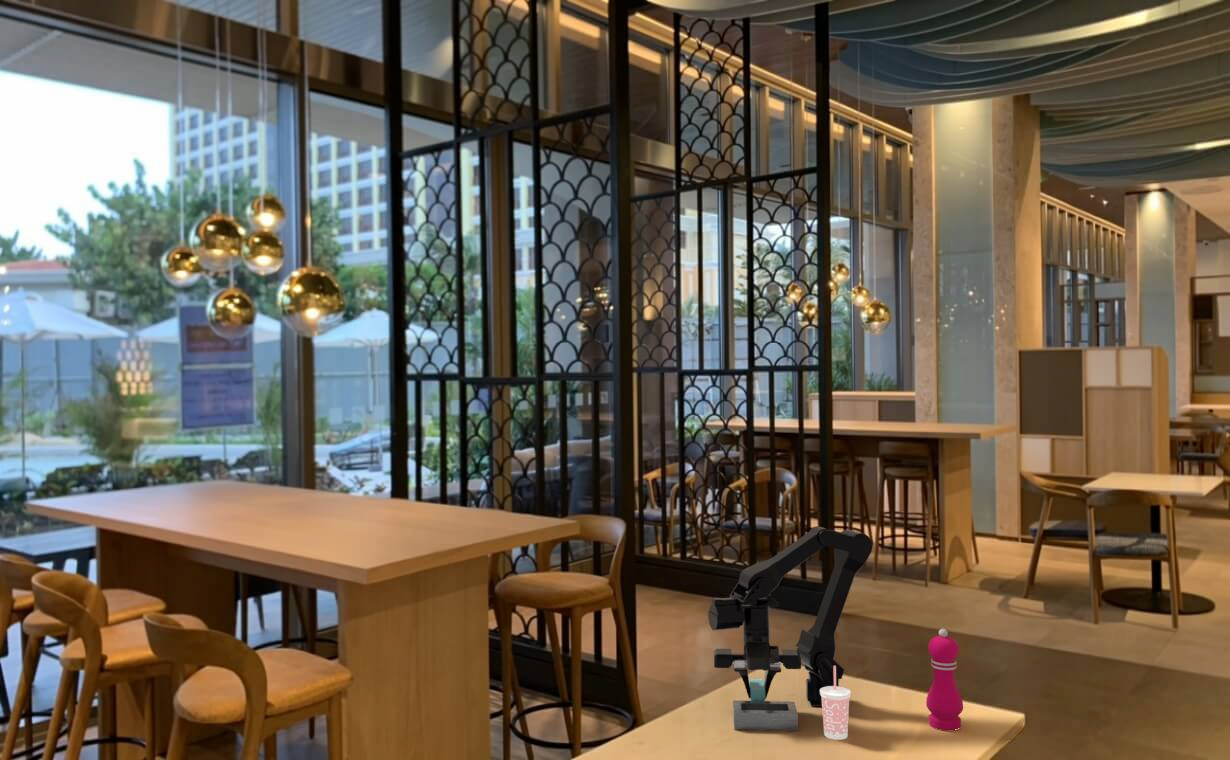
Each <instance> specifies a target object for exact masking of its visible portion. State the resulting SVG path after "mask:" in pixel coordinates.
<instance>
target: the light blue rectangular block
mask: <svg viewBox="0 0 1230 760" xmlns="http://www.w3.org/2000/svg"><path fill="white" fill-rule="evenodd" d="M764 682H765V681H764V679H760V678H759V679H756V678H755V679H752V678H751V679H750V678H749V684H750V691H751V698H749V701H766V699H765V686H764Z"/></svg>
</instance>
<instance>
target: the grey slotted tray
mask: <svg viewBox="0 0 1230 760" xmlns="http://www.w3.org/2000/svg"><path fill="white" fill-rule="evenodd" d="M797 710H798V709H797V706H796V702H795V701H789V700H788V701H784V700H783V701H782V700H778V701H777V700H765V701H750V700H732V718H733V730H738V731H739V730H740V731H743V730H744V731H780V732H781V731H783V732H787V731H789V732H790V731H791V732H798V731H799V716H798V715H799V714H798V711H797Z"/></svg>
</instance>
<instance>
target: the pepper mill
mask: <svg viewBox="0 0 1230 760" xmlns="http://www.w3.org/2000/svg"><path fill="white" fill-rule="evenodd" d="M948 635H949V633H948V630H947V629H945V628H941V629H939V631H938V635H936V636H934V637H933V638H931V639H930V641H929V642H928V647H927V649H928V653H929V655H930V656H931V659H930V662H931V664H930V666H931V668H933V681H932V683H931V686H930V689H929V691H928V692H927V693H928V694H927V696H926V700H925V701H926V702H925V703H926V708H927V710H928V711H929V712H930V714H929V716H928V724H930V725H929V726H930V727H931V726H932V727H931V728H933V727H934V728H933V729H935V728H937V729H936V730H938V729H941V730H940V731H943V730H955V729H958V728H960V727H961V728H962V719H961V717H960V716H959V715H960V714H961V713H962V712H963V710H964V702H963V699H962V696H961V694H960V692H959V689H958V687H957V685H956V681H955V670H956V669H957V664H958V663H957V660H956V658H957V657H958V656H959V655H960V654H959V653H960V647H959V644H958V642H957V641H956V640H955V639H954V638H952V637H950V636H948ZM961 728H960V729H961ZM955 731H956V730H955Z"/></svg>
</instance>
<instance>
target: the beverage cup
mask: <svg viewBox="0 0 1230 760" xmlns="http://www.w3.org/2000/svg"><path fill="white" fill-rule="evenodd" d="M820 695H821V699H822V706H821V707H822V708H821V709H822V711H821V712H822V721H823V722H822V724H823V735H824V736H826V737H825V738H827V739H830V740H836V741H837V740H838V741H841V740H846V739H847V738H848V736H849V735H848V731H849V709H850V698H851V690H850V689H849V688H846V687H842V686H839V687H838V686H836V666H834V686H827V687H823V688H821V689H820Z"/></svg>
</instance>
